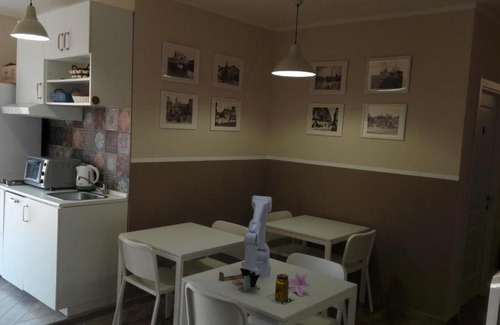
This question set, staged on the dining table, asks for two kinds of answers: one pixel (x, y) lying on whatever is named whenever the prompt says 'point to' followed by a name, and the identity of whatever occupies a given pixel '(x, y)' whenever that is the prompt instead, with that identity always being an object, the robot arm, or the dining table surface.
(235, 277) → the rack
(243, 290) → the stand
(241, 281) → the offcut upper
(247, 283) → the sheet
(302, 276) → the lily
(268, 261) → the robot arm
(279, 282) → the condiment
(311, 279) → the dining table surface
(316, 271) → the dining table surface
